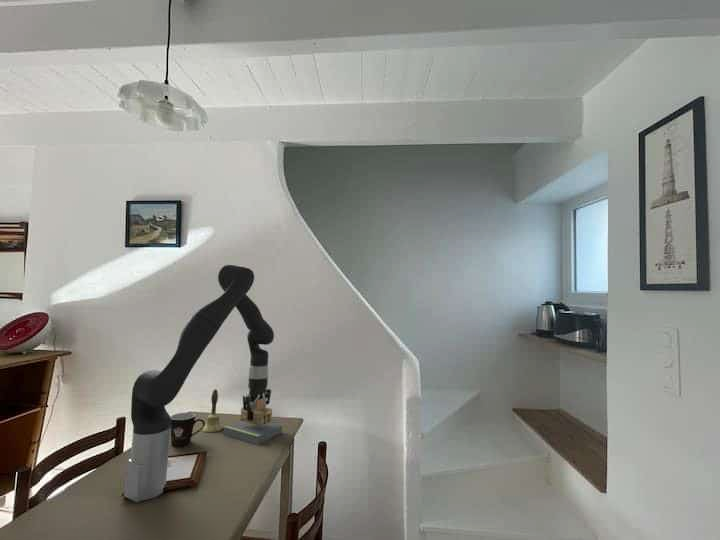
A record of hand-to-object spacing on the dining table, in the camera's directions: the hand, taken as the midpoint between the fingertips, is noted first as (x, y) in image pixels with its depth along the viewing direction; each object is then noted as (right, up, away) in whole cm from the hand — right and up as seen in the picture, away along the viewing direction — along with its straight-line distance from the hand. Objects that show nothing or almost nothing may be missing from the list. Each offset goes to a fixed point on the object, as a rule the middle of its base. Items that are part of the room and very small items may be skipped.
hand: (256, 418), depth 143 cm
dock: (-1, -6, 0) cm, 7 cm away
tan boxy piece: (0, -1, 0) cm, 1 cm away
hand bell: (-19, -6, +4) cm, 21 cm away
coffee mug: (-23, -5, -12) cm, 27 cm away
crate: (0, +4, 0) cm, 4 cm away
